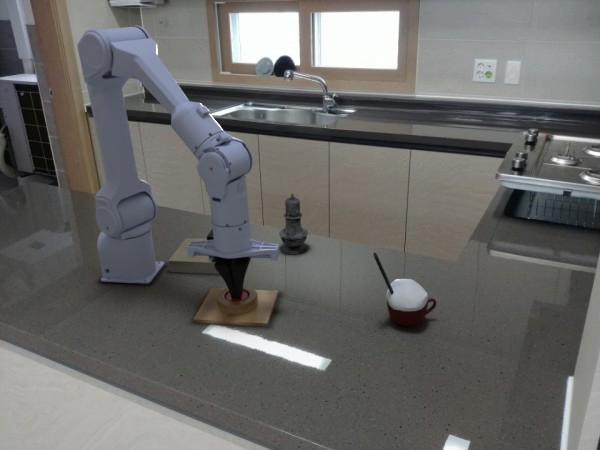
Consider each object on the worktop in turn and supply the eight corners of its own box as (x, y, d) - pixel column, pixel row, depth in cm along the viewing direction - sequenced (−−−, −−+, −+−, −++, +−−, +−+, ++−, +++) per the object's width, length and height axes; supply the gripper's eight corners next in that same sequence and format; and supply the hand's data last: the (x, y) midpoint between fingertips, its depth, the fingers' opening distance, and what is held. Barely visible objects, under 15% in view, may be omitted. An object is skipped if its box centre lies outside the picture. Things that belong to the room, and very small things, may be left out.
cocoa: (436, 314, 86) (441, 246, 81) (431, 336, 80) (437, 265, 76) (377, 305, 89) (379, 239, 84) (369, 325, 83) (371, 257, 79)
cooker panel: (169, 272, 101) (168, 259, 100) (187, 249, 110) (185, 237, 109) (234, 275, 100) (233, 262, 99) (246, 251, 109) (246, 239, 108)
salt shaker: (305, 256, 106) (304, 199, 101) (276, 254, 107) (273, 197, 102) (310, 243, 111) (309, 188, 107) (283, 241, 112) (280, 187, 108)
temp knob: (217, 256, 101) (215, 235, 100) (208, 255, 102) (206, 235, 100) (224, 244, 106) (223, 225, 104) (216, 244, 106) (214, 224, 105)
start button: (224, 308, 88) (223, 300, 87) (229, 297, 91) (229, 289, 90) (245, 310, 87) (245, 301, 86) (250, 298, 90) (250, 290, 90)
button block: (193, 322, 86) (192, 309, 85) (211, 290, 95) (210, 278, 94) (267, 327, 84) (266, 313, 83) (278, 294, 93) (278, 281, 92)
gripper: (281, 211, 85) (284, 285, 91) (193, 209, 88) (202, 281, 93) (272, 229, 79) (277, 307, 84) (178, 226, 81) (188, 303, 87)
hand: (237, 295), depth 88 cm, fingers closed, pressing on start button
